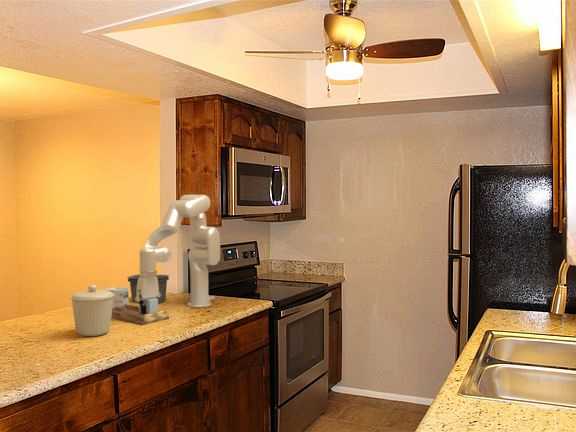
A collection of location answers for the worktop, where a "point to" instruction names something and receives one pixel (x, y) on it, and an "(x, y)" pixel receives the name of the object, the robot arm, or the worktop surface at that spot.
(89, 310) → the canister
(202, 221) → the robot arm
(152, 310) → the panel block
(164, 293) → the storage bin
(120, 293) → the light bulb box
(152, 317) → the board
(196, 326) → the worktop surface
